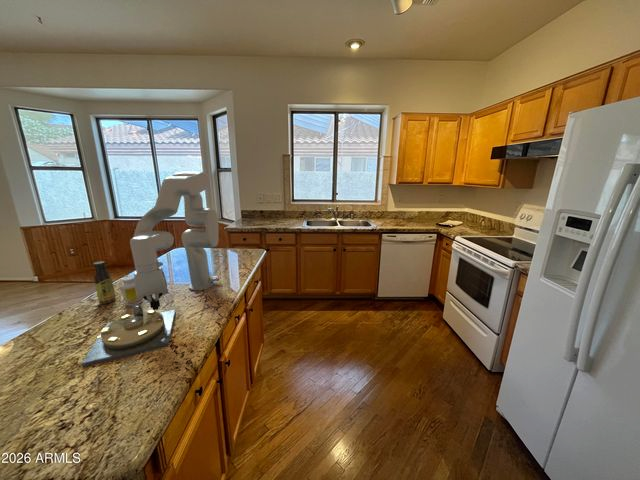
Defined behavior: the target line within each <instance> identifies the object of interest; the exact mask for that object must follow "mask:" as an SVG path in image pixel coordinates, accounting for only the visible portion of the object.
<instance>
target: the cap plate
mask: <svg viewBox="0 0 640 480" xmlns="http://www.w3.org/2000/svg"><path fill="white" fill-rule="evenodd" d="M159 313H160V314H162V315H163V317H164V323H165V325H164V327H163V329H162V330H161V331H160V332H159V333H158V334H157V335H156V336H154V337H153V338H151V339H149V340H147V341H145V342H143V343H140V344H138V345H135V346H131V347H127V348H121V349H111V348H107V347H105V346H104V345H103V342H102V338H101V333H100V334H99V335H97V336H96V339H95V341H94V342H93V345H92V346H91V348H90V349H89V351H88V352H87V353H86V355H85V357H84V358H83V360H82V361H81V362H80V363H81V367H82V368H85V367H89V366H93V365H96V364H100V363H106V362H109V361H110V362H111V361H114V360H118V359H122V358H126V357H130V356H131V357H132V356H134V355H138V354H142V353H147V352H151V351H155V350H159V349H164V348H166V347H167V348H168V347H169V345H170V340H171V335H172V332H173V327H174V321H175V317H176V309H171V310H168V311H166V310H165V311H163V312H159ZM114 322H115V321H110V322H107V323H106V325H105V326H104V328H106V327H108V326H109V325H110V324H112V323H114Z"/></svg>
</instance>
